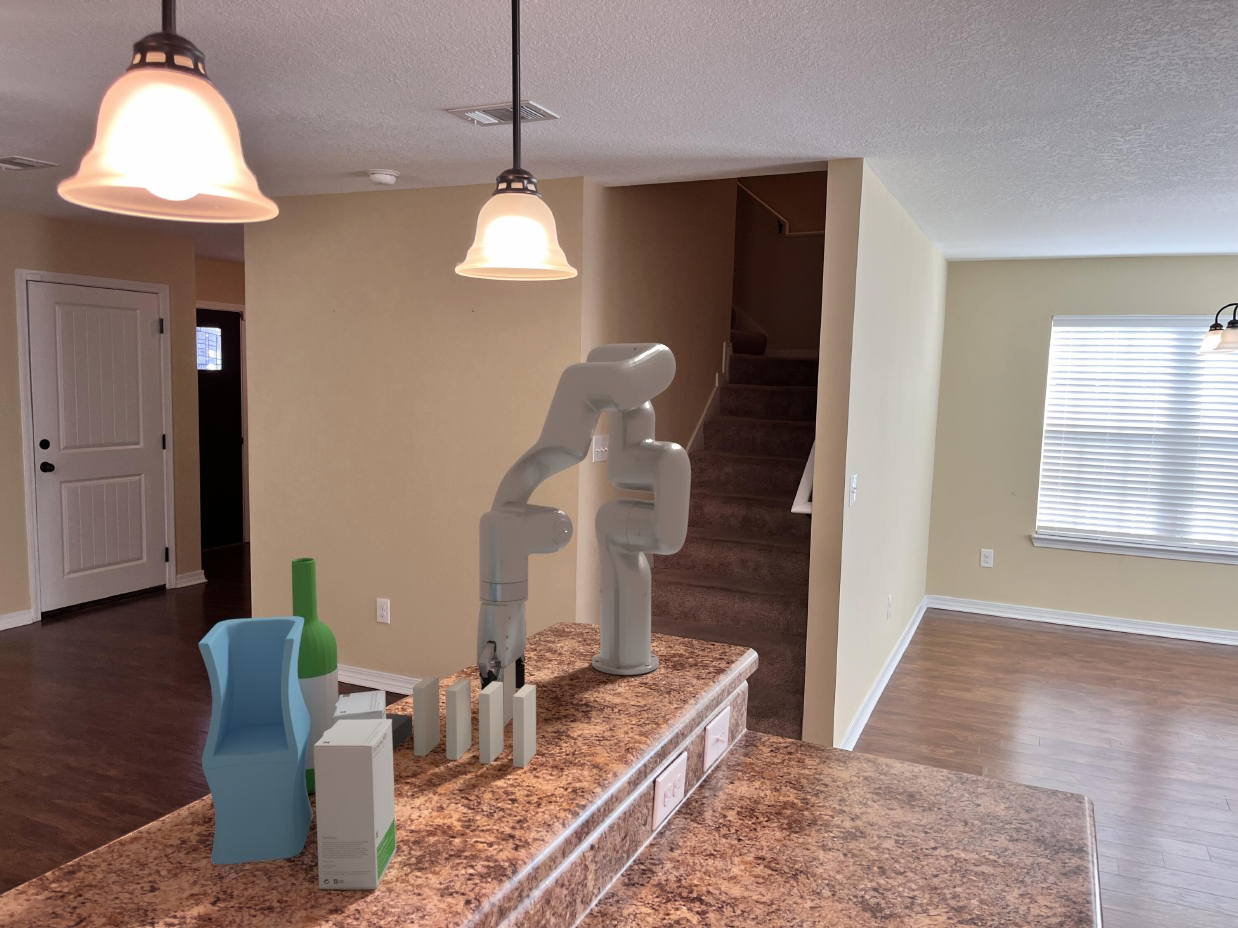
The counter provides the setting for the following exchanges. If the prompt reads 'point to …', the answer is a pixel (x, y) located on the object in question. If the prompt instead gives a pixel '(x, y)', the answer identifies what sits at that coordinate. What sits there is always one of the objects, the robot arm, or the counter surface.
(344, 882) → the skincare box
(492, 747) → the domino
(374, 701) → the skincare box
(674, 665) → the counter surface
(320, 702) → the wine bottle
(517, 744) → the domino
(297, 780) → the blue chair
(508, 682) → the domino
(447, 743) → the domino
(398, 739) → the block
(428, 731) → the domino
